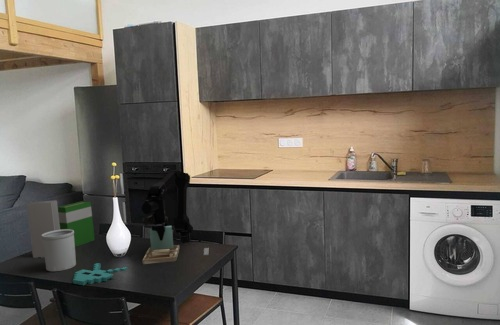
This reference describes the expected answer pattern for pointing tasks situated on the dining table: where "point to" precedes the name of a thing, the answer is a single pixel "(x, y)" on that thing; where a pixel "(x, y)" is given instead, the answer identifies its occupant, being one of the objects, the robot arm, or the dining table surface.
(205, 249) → the grey mat
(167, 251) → the pine offcut
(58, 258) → the utensil holder
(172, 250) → the rack
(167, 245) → the teal square block
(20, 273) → the dining table surface
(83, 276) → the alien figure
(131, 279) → the dining table surface
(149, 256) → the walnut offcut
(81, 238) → the hardback book
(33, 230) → the grey upright box
